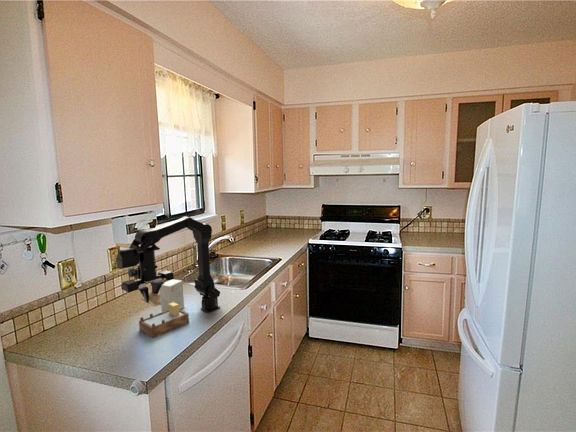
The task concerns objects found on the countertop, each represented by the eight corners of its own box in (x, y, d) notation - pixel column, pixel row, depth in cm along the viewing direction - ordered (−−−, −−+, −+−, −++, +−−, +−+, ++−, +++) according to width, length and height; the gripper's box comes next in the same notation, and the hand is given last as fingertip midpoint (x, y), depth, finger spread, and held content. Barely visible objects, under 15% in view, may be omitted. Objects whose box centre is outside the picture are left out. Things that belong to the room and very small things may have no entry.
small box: (174, 305, 155) (172, 278, 153) (184, 307, 153) (182, 280, 151) (161, 312, 148) (158, 284, 146) (172, 314, 145) (169, 286, 143)
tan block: (146, 297, 133) (145, 289, 133) (160, 304, 126) (160, 295, 126) (140, 299, 131) (140, 291, 131) (155, 306, 124) (154, 297, 124)
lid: (174, 311, 141) (173, 300, 141) (184, 315, 137) (183, 304, 136) (143, 323, 131) (142, 311, 130) (153, 328, 126) (152, 316, 126)
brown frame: (175, 316, 143) (174, 304, 143) (189, 322, 137) (188, 310, 136) (139, 330, 131) (138, 318, 131) (152, 338, 125) (151, 325, 124)
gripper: (159, 254, 139) (161, 290, 141) (113, 265, 124) (116, 304, 127) (173, 258, 132) (176, 296, 134) (126, 270, 117) (130, 311, 120)
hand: (150, 301), depth 129 cm, fingers closed on tan block, 2 cm apart
